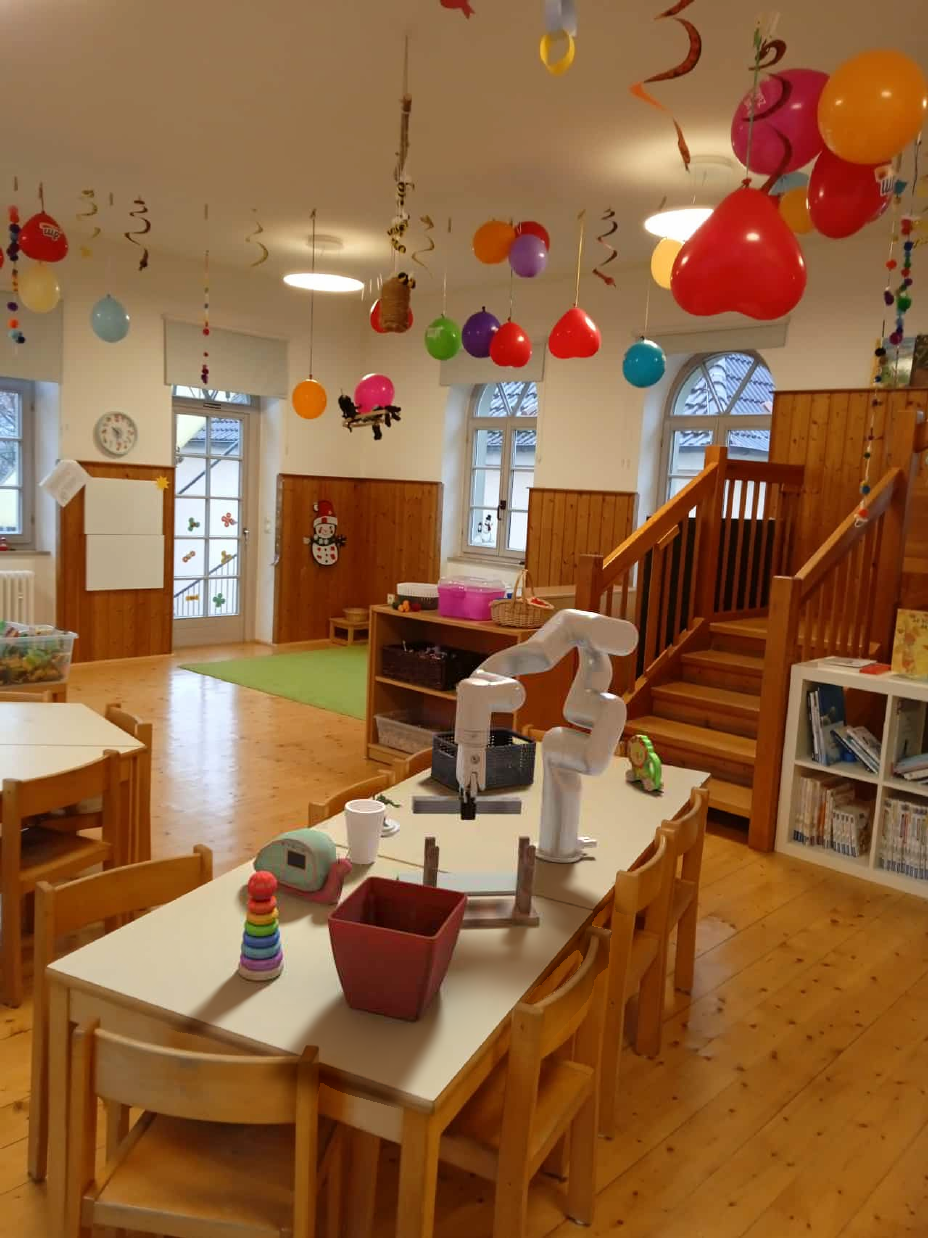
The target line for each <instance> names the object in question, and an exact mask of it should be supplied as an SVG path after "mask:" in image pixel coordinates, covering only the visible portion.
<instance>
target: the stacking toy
mask: <svg viewBox="0 0 928 1238" xmlns="http://www.w3.org/2000/svg"><path fill="white" fill-rule="evenodd" d="M276 888H277V882H276V879H275V877H274V876H273V875H272V874H271V873H269V872H266V871H260V872H255V873H253V874H252V875H251V876H250V877H249V880H248V882H247V891H248V894H249V896H250V898H249V899H248V900H247V909H248V910H247V911H246V915H245V918H246V920H245V921H244V926H243V928H244V931H243V933H242V941H241V943H240V949H241V953H240V956H239V962H238V965H237V970H238V973H239V974H240V976H241V977H242V978H244V979H246V980H249V981H255V982H258V981H259V982H260V981H261V982H262V981H268V980H271V979H274V978H276V977H278V976H279V975H280V974H281V973H282V972H283V970H284V964H285V963H284V960H283V958H284V951H283V949H282V942H281V939H280V938H281V932H280V929H279V925H280V923H279V919H278V917H279V911H278V909H277V908H276V907H277V899H276V897H274V895H275V894H276V891H277V889H276Z"/></svg>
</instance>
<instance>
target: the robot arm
mask: <svg viewBox="0 0 928 1238" xmlns="http://www.w3.org/2000/svg"><path fill="white" fill-rule="evenodd" d="M638 643H639V632H638V630H637V627H636V626H635V624H633V623H632V622H631V621H628V620H624V619H619V618H614V617H611V616H610V617H609V616H607V615H603V614H600V613H595V612H592V611H591V612H589V611H584V610H579V609H573V608H572V609H571V608H565V609H562V610H559V611H558V612H557V613H555V614H554V615H553V616H552V617H551V618H550V619H549V620H547V622H546V623H544V624H543V626H541V628H540V629H538V630H537V631H536V632H535V633H534V634H532V636H531V637H529V638H528V639H527V640H526V641H524V642H522V643H518V644H516V645H514V646H511V647H509V648H506V649H503V650H501V651H498V652H496V653H495V654H493V655H491V656H490V657H488V658H486V660H485V661H483V662H482V663H481V664H480V665H479V666H478V667H477V668H475V670H473V671H472V673H471V674H470V676H469V678H464V679H462V680H460V681H459V683H458V685H457V686H458V687H457V697H456V699H457V700H456V711H455V712H456V713H455V726H454V727H455V728H454V732H455V740H454V741H455V742H456V743H457V744H459V745H458V754H457V767H456V776H457V780H458V782H459V784H460V788H459V791H458V796H463V802H462V805H461V814H460V820H461V821H475V820H476V815H477V814H476V801H477V796H478V791H477V785H478V787H479V788H480V789H481V791H485V790H484V789H485V771H486V750H485V747H486V745H488V744H490V743H489V741H490V740H489V732H490V727H491V715H492V713H494V712H495V713H512V712H515V711H517V710H518V709H520V708H521V707H522V706H523V705H524V703H525V701H526V697H527V696H526V695H527V694H526V690H525V687H524V685H523V684H522V683H521V682H519V681H518V680H516V679H513V677H517V676H522V675H530V674H537V673H544V672H547V671H550V670H551V669H553V668H554V667H555V666H556V665H557V664H558V663H559V662H560V660H561V659H563V658H565V656H566V655H567V654H568V653H570V651H571V650H572V649H573V648H575V647H577V651H578V656H579V665H578V666H579V667H578V669H577V672H576V675H575V676H574V680H573V682H572V685H571V688H569V692H568V694H567V697H566V700H565V702H564V705H563V710H562V713H563V717H564V718H565V720H566V721H568V722H569V723H571V724H574V725H575V726H578V727H581V728H585V729H589V730H591V733H586V732H583V731H580V730H577V729H573V728H570V727H567V726H556V727H552V728H551V729H549V730H548V731H546V733H545V734H544V735H543V738H542V741H541V758H542V765H543V766H542V767H543V770H542V771H543V778H542V779H543V781H542V794H541V807H540V819H539V829H538V830H539V831H538V832H539V833H538V841H536V842H534V843H533V844H532V845H535V847H536V854H535V857H537V858H539V859H541V860H543V861H547V862H552V863H559V864H561V863H562V864H564V863H565V864H566V863H573V862H577V861H580V860H581V859H582V858H583V856H584V849H585V848H589V849H595V848H597V845H598V843H597V840H596V839H589V837H587V836H586V837H585V836H583V837H580V835H579V827H580V815H581V813H580V812H581V805H582V804H581V803H582V802H581V801H582V794H583V793H582V791H583V783H582V778H581V775H584V776H588V777H590V778H591V777H592V778H593V777H594V778H596V777H599V776H602V774H604V773H605V771H606V770H607V769H608V767H609V765H610V764H611V760H612V758H613V756H614V755H615V751H616V749H617V746H618V743H619V741H620V738H621V736H622V734H623V731H624V729H625V725H626V722H627V713H628V711H627V706H626V703H625V701H624V699H622V698H621V697H620V696H618V695H615V694H612V693H609V692H608V691H609V687H610V685H611V682H612V679H613V667H612V662H611V659H610V657H609V654H611V655H615V656H620V657H625V656H628V655H630V654H631V653H633V651H635V649H636V647H637V646H638ZM456 743H455V744H456Z"/></svg>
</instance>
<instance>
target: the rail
mask: <svg viewBox="0 0 928 1238" xmlns="http://www.w3.org/2000/svg"><path fill="white" fill-rule="evenodd" d="M411 797H412V799H411V811H412V814H413V815H414V814H415V815H461V805H462V802H463V796H459V795H457V796H456V795H455V796H454V795H452V796H450V795H447V796H446V795H412V796H411ZM522 804H523V803H522V800H521V797H519V796H478V795H477V801H476V815H522V806H523V805H522Z"/></svg>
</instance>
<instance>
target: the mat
mask: <svg viewBox="0 0 928 1238" xmlns="http://www.w3.org/2000/svg"><path fill="white" fill-rule="evenodd" d="M396 878H397V880H399V881H404V882H410V883H416V884H421V885H423V873H422V872H421V873H397V877H396ZM516 883H517V871H499V872H497V871H491V872H489V871H488V872H483V871H482V872H480V871H479V872H437V887H438V888H443V889H448V890H454V891H459V892H464V893H466V894H467V895H468V896H482V895H483V896H486V895H491V896H492V895H516Z"/></svg>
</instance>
